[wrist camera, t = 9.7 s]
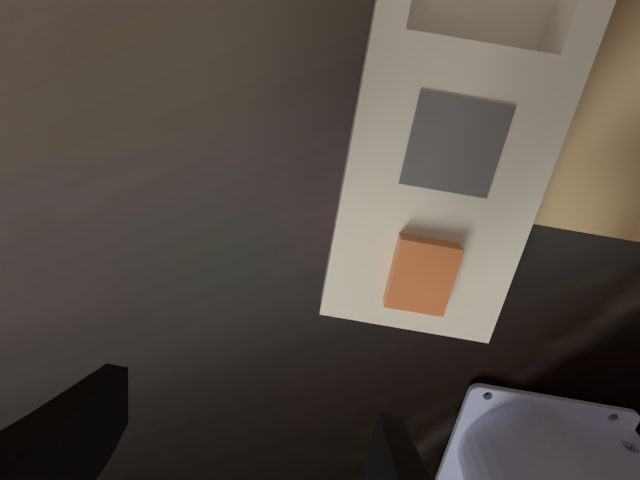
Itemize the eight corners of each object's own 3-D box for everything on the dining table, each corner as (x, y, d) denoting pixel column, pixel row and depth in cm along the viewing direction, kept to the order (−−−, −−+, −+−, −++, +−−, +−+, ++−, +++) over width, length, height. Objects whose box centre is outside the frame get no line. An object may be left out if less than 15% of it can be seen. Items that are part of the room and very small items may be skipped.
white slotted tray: (671, -261, 13) (770, -366, 10) (472, 314, 21) (494, 354, 18) (429, -301, 13) (454, -419, 10) (322, 289, 21) (318, 323, 18)
